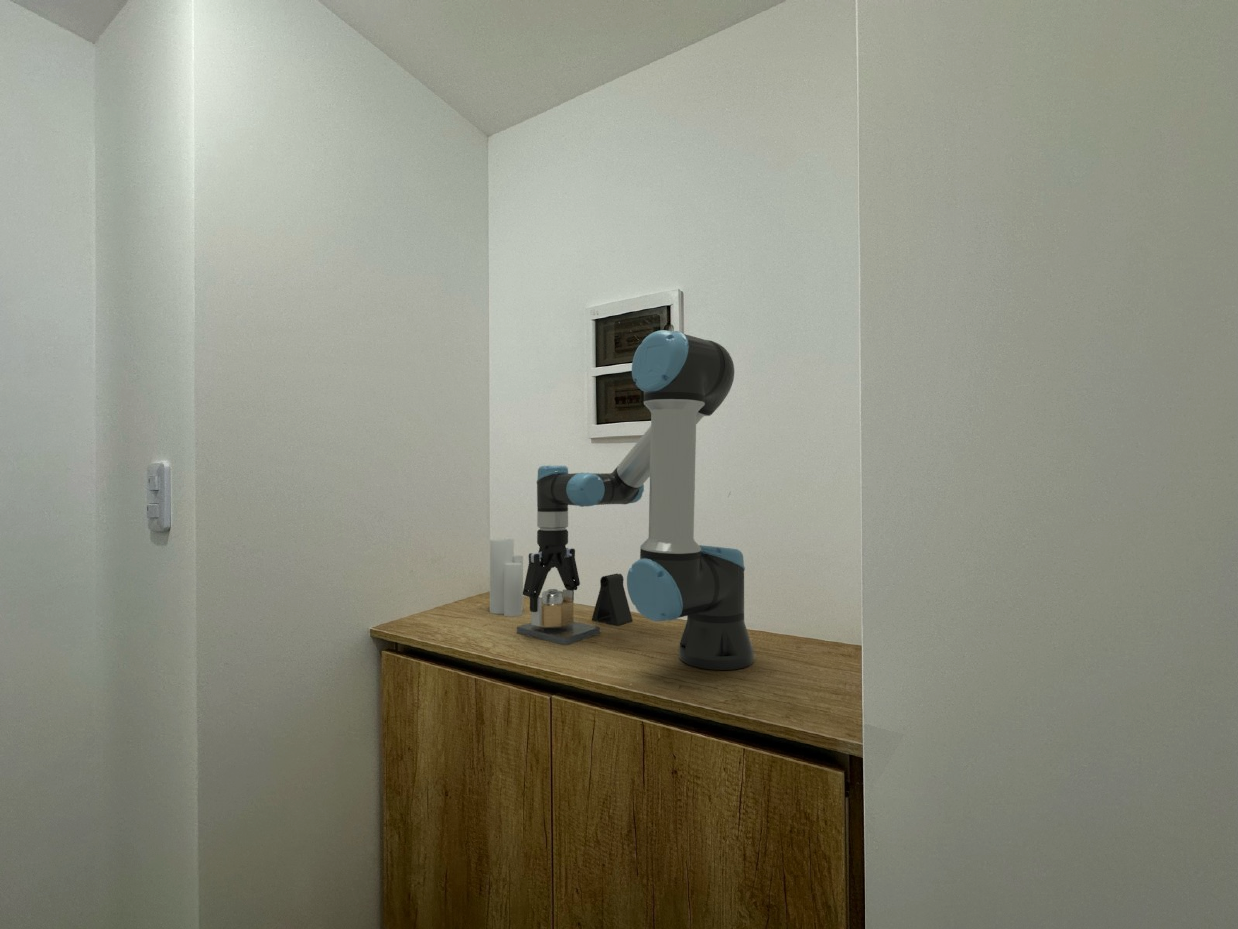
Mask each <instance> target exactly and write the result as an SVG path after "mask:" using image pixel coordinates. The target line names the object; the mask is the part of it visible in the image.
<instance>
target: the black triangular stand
mask: <svg viewBox="0 0 1238 929" xmlns="http://www.w3.org/2000/svg"><path fill="white" fill-rule="evenodd" d="M599 583H600V588H599V592H598V595H597V599H596V601H595V602H596V603H595V605H594V610H593V614H592V616H591V622H596V623H601V624H607V625H611V626H615V627H619V626H621V625H625V624H629V623H631V622H633V617H632V613H631V609H630V605H629V601H628V598H627V596H626V591H625V588H624V576H623V575H622V574H621V573H613V574H607V575H604V576H601V578H600V579H599Z"/></svg>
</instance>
